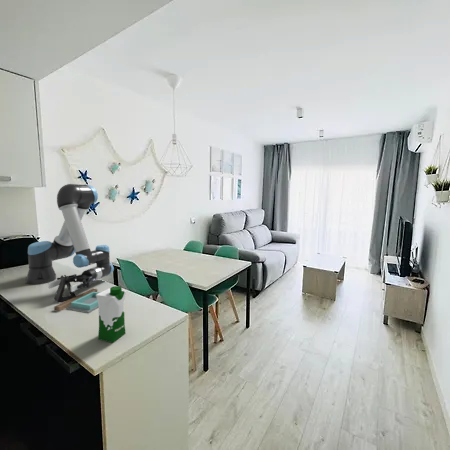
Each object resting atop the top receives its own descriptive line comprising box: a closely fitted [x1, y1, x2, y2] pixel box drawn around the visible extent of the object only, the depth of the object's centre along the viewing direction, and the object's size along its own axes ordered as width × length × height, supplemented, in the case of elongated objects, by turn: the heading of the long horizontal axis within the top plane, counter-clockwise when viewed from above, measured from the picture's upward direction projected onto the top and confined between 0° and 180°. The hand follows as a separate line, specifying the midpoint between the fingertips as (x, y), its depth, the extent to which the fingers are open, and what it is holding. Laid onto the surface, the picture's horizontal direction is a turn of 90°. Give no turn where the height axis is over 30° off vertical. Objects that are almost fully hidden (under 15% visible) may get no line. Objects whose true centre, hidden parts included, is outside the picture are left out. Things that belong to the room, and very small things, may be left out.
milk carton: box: [96, 285, 127, 344], centre depth 99 cm, size 9×9×20 cm
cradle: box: [65, 291, 100, 314], centre depth 128 cm, size 13×18×3 cm
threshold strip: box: [54, 288, 98, 312], centre depth 130 cm, size 3×24×2 cm, turn 165°
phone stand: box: [53, 274, 77, 304], centre depth 131 cm, size 9×6×12 cm, turn 135°
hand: (59, 287), depth 128 cm, fingers open, 13 cm apart
